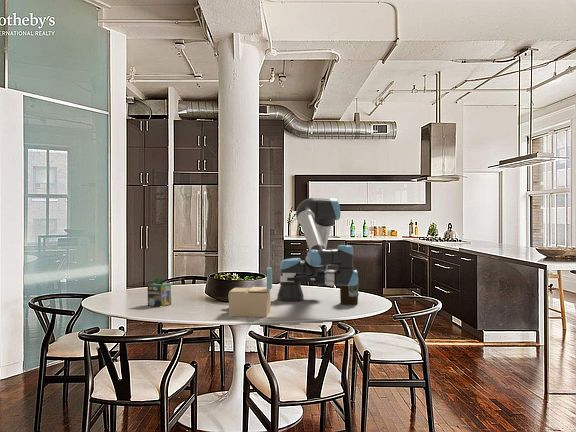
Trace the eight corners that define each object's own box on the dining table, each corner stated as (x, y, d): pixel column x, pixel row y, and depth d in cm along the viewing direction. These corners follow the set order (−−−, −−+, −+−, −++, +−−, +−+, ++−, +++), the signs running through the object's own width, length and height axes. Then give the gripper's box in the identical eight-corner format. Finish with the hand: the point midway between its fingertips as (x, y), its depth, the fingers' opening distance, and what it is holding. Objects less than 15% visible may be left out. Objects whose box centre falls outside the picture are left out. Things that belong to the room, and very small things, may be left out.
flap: (252, 288, 282) (252, 266, 282) (273, 288, 281) (273, 266, 281) (248, 291, 268) (248, 269, 268) (269, 292, 267) (269, 269, 267)
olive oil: (335, 303, 308) (335, 257, 308) (350, 301, 314) (350, 256, 314) (347, 305, 299) (347, 258, 299) (362, 303, 305) (363, 257, 305)
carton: (234, 310, 283) (234, 287, 283) (270, 310, 282) (270, 287, 282) (228, 316, 267) (228, 291, 267) (266, 316, 266) (266, 292, 266)
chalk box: (171, 304, 302) (171, 277, 302) (161, 307, 294) (161, 278, 294) (157, 303, 306) (157, 276, 306) (146, 305, 298) (147, 277, 298)
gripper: (325, 288, 259) (279, 288, 260) (325, 282, 284) (283, 282, 285) (325, 272, 259) (279, 272, 260) (325, 267, 284) (283, 267, 285)
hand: (281, 277), depth 273 cm, fingers open, 13 cm apart
